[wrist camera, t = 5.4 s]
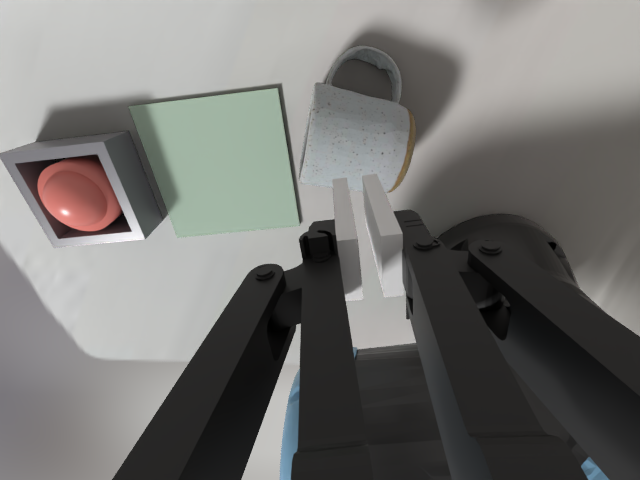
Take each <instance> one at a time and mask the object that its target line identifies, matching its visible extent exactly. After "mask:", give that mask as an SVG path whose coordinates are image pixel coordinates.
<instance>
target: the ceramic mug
mask: <svg viewBox="0 0 640 480" xmlns="http://www.w3.org/2000/svg"><path fill="white" fill-rule="evenodd" d="M349 59H359V60H362V61H365V62H368V63H371V64H373V65H375V66H377V67H378V68H379V69H385V71H386V72H387V73H388V75H389V78H390V80H391V84H392V86H391V88H392V99H391V101H388V100H384V99H380V98H375V97H370V96H366V95H362V94H359V93H356V92H353V91H349V90H345V89H340V88H337V87H334V86H332V79H333V77H334V75H335V73H336V72H337V70H338V69H339V67H340V66H341V65H342V64H343V63H344V62H346V61H347V60H349ZM401 92H402V81H401V75H400V71H399V69H398V67H397V65H396V63H395V62H394V61H393V59H392V58H391V57H390V56H389V55H387V54H386V53H385V52H383V51H381V50H379V49H377V48H374V47H370V46H362V45H361V46H356V47H353V48H350V49H349V50H347V51H346V52H345V53H343V54H342V55H341V56H340V57H339V58H338V59H337V61H336V62H335V63H334V65H333V67H332V68H331V71H330V73H329V75H328V78H327V80H326V84H323V83H318V82H317V83H315V85H314V88H313V93H312V97H311V102H310V107H309V114H308V118H307V124H306V130H305V135H304V142H303V149H302V155H301V162H300V173H299V181H300V183H302V184H306V185H314V186H323V187H329V188H333V184H332V179H338V178H346V177H347V182H348V188H349V190H353V191H359V192H363V182H362V175H369V174H377V176H378V178H379V180H380V182H381V185H382V187H383V189H384V192H385V193H388V192H392V191H393V190H395V189H396V188H397V187H398V186H399V185H400V183H401V182H402V181H403V179H404V177H405V175H406V173H407V170H408V168H409V165H410V162H411V158H412V155H413V150H414V145H415V136H416V125H415V119H414V117H413V115H412V113H411V112H410V110H409V109H407V108H405V107H403V106H401V105H399V101H400V98H401Z"/></svg>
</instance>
